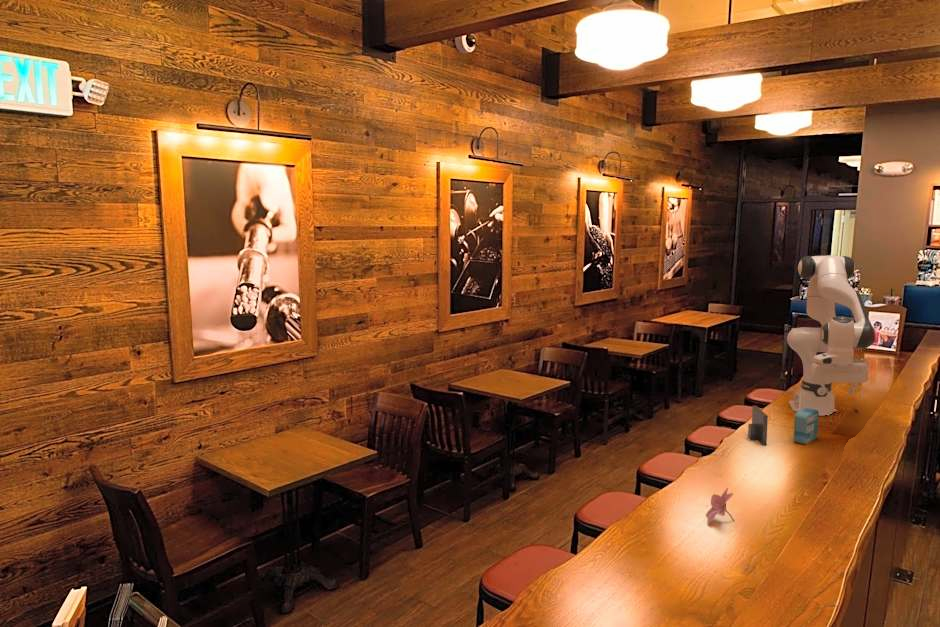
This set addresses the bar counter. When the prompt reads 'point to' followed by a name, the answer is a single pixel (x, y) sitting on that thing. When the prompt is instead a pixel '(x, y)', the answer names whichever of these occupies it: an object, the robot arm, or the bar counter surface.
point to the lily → (718, 505)
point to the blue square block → (806, 426)
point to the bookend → (758, 426)
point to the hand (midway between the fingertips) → (838, 392)
